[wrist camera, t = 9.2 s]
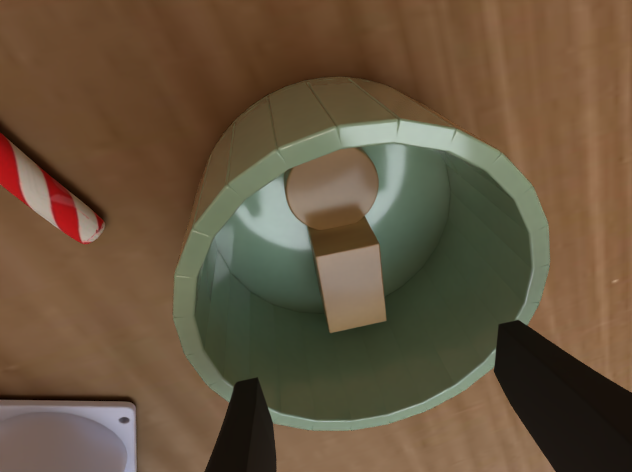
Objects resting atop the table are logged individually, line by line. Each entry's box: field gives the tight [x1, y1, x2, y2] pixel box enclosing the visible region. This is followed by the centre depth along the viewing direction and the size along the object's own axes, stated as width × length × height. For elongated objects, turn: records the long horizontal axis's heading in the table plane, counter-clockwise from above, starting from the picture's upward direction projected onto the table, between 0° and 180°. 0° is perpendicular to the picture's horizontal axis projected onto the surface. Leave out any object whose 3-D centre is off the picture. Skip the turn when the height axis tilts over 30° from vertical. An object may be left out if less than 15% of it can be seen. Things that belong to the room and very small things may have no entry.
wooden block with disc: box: [284, 147, 387, 333], centre depth 16 cm, size 7×4×3 cm, turn 9°
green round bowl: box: [173, 77, 550, 431], centre depth 15 cm, size 11×11×6 cm
